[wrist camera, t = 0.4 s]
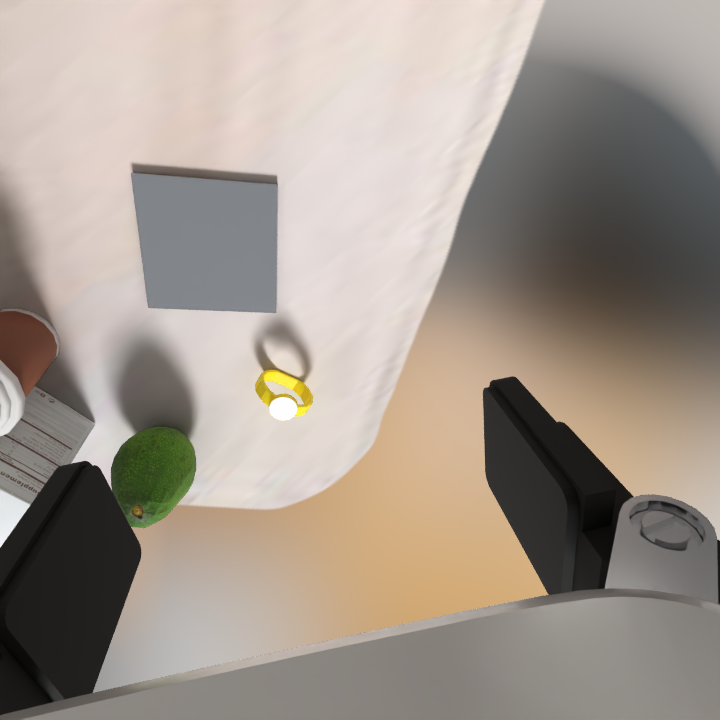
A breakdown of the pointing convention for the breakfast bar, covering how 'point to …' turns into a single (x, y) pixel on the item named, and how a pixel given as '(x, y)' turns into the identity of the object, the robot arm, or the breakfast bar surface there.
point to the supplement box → (36, 453)
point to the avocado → (152, 474)
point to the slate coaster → (207, 242)
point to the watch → (283, 395)
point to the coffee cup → (22, 360)
